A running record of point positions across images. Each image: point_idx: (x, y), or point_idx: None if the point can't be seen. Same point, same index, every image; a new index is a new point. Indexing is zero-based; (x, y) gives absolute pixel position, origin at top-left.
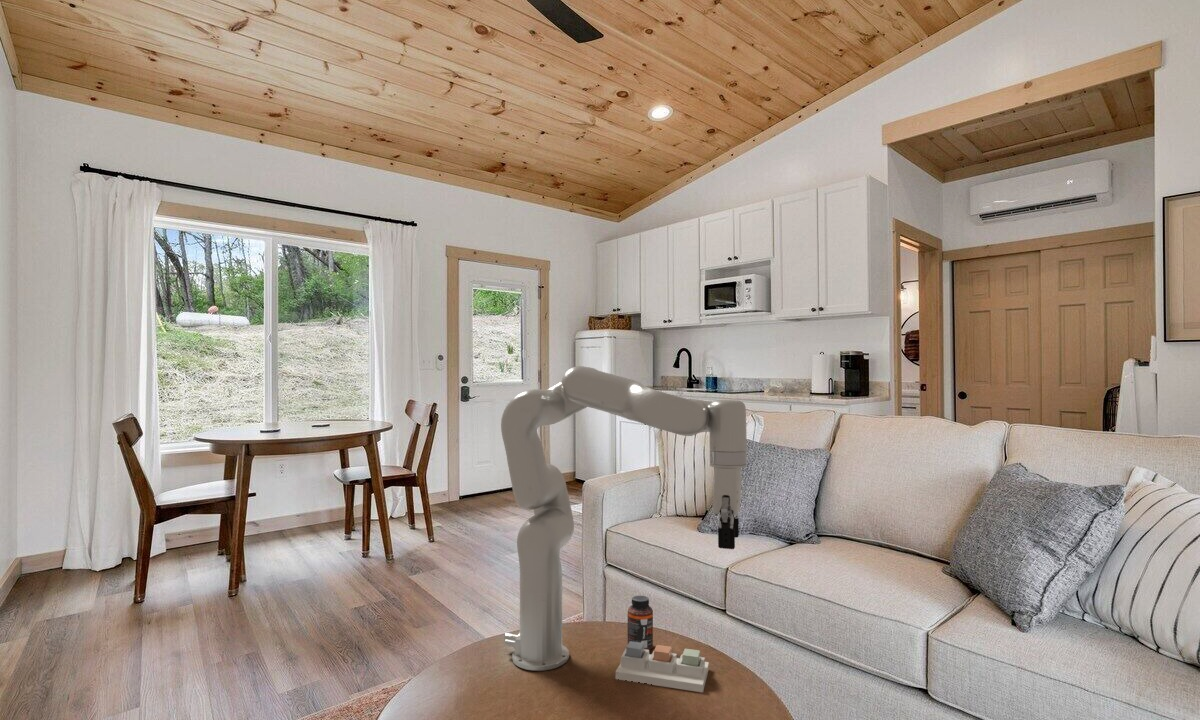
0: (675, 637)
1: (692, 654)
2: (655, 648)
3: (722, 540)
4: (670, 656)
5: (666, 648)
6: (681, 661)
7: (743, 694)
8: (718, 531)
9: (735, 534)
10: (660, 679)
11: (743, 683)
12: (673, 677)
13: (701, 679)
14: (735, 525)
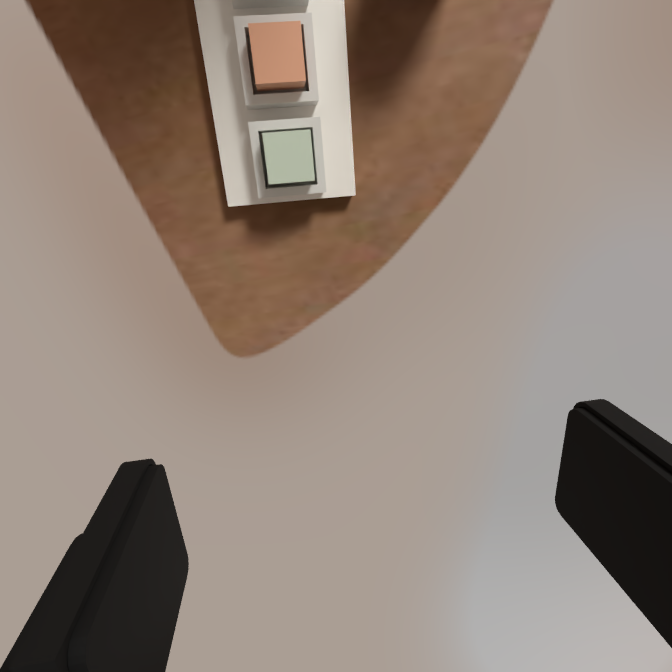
0: (523, 48)
1: (278, 164)
2: (269, 23)
3: (63, 565)
4: (283, 86)
5: (285, 65)
6: (274, 129)
7: (265, 295)
8: (41, 611)
9: (570, 507)
10: (207, 80)
11: (315, 286)
12: (230, 117)
13: (254, 197)
14: (634, 582)
